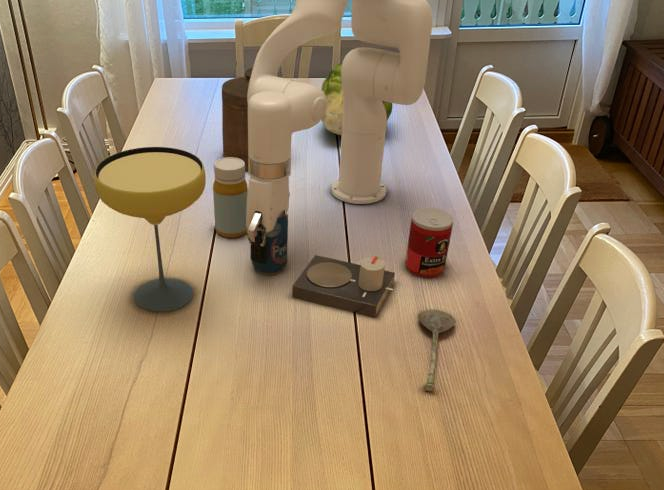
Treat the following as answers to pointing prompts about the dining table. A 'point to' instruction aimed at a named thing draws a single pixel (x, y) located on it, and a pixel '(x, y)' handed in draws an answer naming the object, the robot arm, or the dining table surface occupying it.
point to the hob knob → (371, 274)
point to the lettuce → (338, 102)
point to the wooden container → (236, 118)
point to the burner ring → (329, 275)
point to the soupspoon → (435, 335)
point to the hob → (343, 290)
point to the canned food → (428, 241)
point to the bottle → (230, 197)
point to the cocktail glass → (153, 205)
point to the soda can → (275, 247)
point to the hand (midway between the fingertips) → (269, 249)
